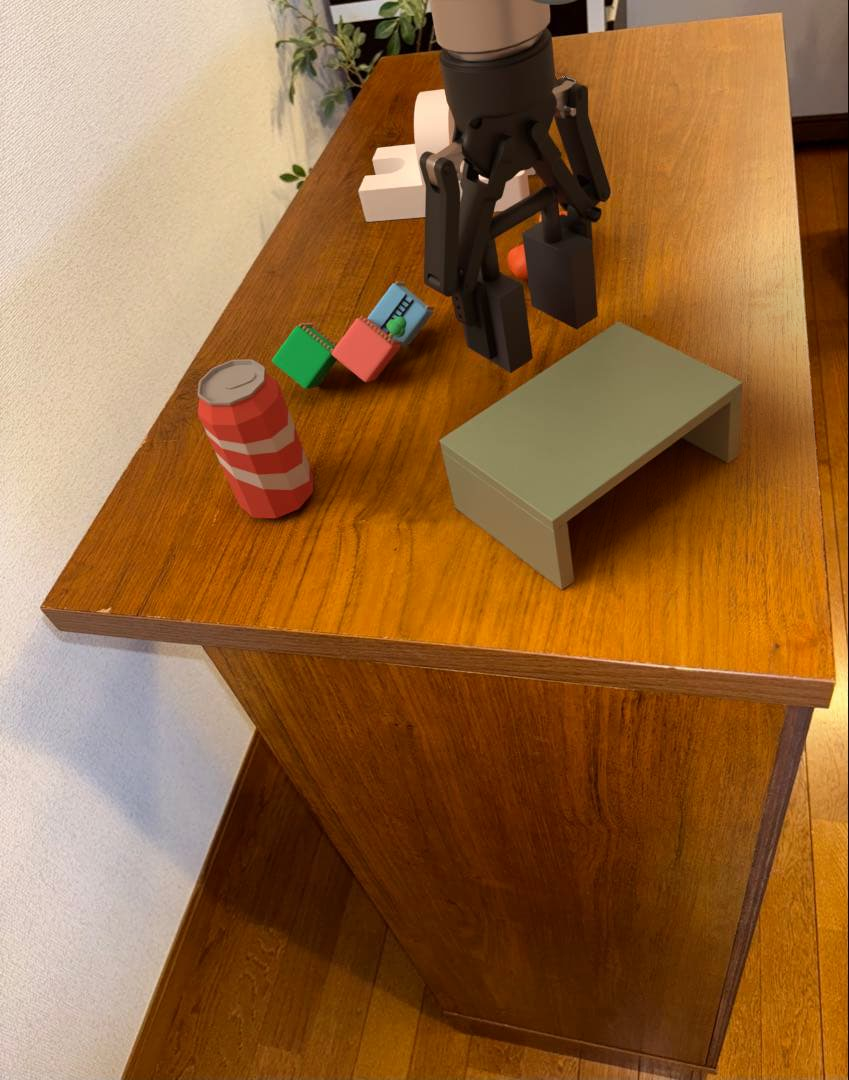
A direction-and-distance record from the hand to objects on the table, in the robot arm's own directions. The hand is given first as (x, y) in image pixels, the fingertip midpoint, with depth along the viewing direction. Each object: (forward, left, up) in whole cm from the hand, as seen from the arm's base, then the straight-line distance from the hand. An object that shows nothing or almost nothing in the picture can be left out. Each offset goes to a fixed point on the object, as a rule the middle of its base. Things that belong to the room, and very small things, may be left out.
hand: (531, 320), depth 80 cm
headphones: (0, 0, -1) cm, 1 cm away
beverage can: (+5, +24, -6) cm, 25 cm away
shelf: (-13, +6, -6) cm, 15 cm away
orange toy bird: (+11, -11, -6) cm, 17 cm away
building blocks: (+14, +9, -6) cm, 18 cm away
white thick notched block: (+32, -16, -6) cm, 36 cm away
